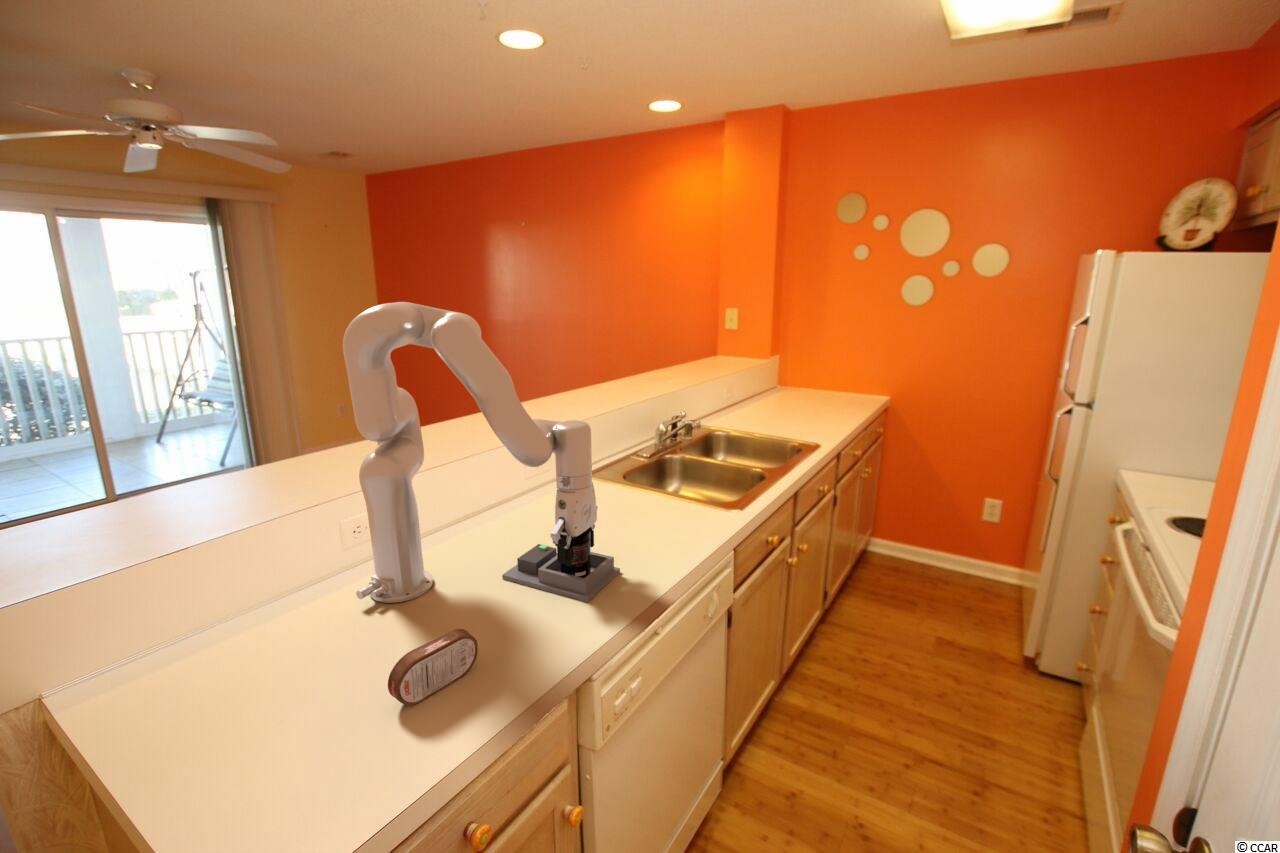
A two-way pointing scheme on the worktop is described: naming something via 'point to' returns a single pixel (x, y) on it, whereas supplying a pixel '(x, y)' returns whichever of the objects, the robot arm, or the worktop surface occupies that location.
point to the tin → (432, 666)
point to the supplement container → (579, 556)
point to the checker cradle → (561, 574)
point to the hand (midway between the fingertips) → (576, 554)
